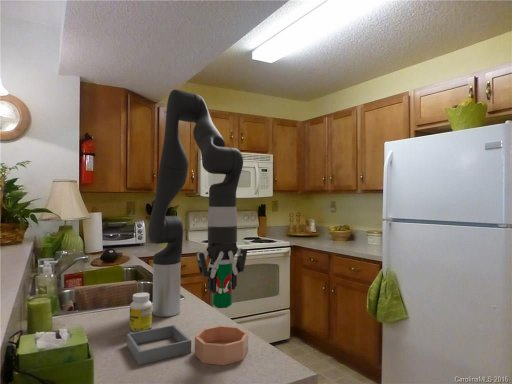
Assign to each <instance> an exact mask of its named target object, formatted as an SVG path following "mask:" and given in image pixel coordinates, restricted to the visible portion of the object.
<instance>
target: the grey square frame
mask: <svg viewBox="0 0 512 384" xmlns="http://www.w3.org/2000/svg"><path fill="white" fill-rule="evenodd" d="M171 337H173V338H174V339H175V341H177V342H173V343H169V344H168V343H167V344H164V345H160V346H156V347H151V348H148V349H143V350H141V348H140V347H139V344H143V343H149V342H154V341H158V340H161V339H167V338H171ZM126 347H127V348H128V350H129V351H130V353H131V355H132V356H133V358H134V359H135V362H137V364H138V366H141V365H145V364H149V363H152V362H156V361H157V362H158V361H161V360H164V359H169V358H173V357H176V356H181V355H186V354H189V353H192V340H191V339H190V337H188V336H187V335H186V334H185V333H183V331H182V330H180V328H178V327H177V326H176V325H175V324H172V325H166V326H161V327H155V328H152V329H150V330H145V331H140V332H135V333H130V332H129V333H127V334H126Z"/></svg>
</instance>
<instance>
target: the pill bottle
mask: <svg viewBox="0 0 512 384" xmlns="http://www.w3.org/2000/svg"><path fill="white" fill-rule="evenodd" d="M152 321H153V302H151V301H150V293H149V292H136V293H133V294H132V302H131V303H130V304H129V334H130V333H135V332H140V331H145V330H150V329H153V328H152V325H153V323H152Z"/></svg>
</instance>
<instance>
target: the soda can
mask: <svg viewBox="0 0 512 384" xmlns="http://www.w3.org/2000/svg"><path fill="white" fill-rule="evenodd" d="M213 265H214V263H213ZM214 278H215V293H211V294H212V295H211V297H212V298H211V299H212V300H211V301H212V305H213V307H214V308H217V309H226V308H230V307H231V306H232V304H233V290H232V263H231V261H230V259H224V260H221V262H220V264H219V268H218V269H217V271H216V274H215V277H214Z"/></svg>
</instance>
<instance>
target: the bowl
mask: <svg viewBox="0 0 512 384" xmlns="http://www.w3.org/2000/svg"><path fill="white" fill-rule="evenodd" d="M248 352H249V333H248V331H245V330H244V329H243V328H241V327H239V326H229V325H215V326H212V327H207V328H203V329H201V330H200V331H199V332H198V333H197V334H196V335H195V336H194V355H195V357H196V358H197V359H199V361H201V362H202V363H203V364H208V365H209V364H211V365H218V366H226V365H230V364H234V363H238V362H241V361H244V359H245V358H246V356H247V354H248Z"/></svg>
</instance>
